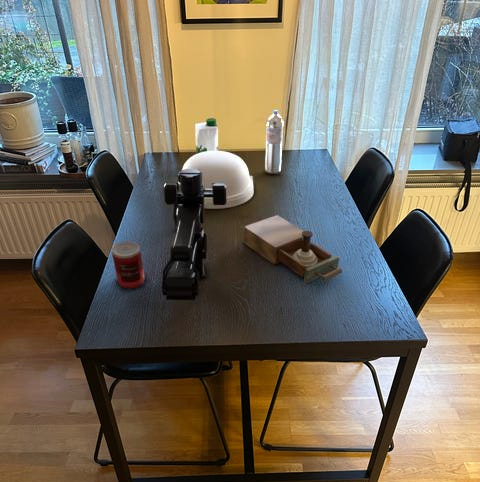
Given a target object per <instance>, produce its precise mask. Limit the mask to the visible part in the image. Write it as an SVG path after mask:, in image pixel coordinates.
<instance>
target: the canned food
mask: <svg viewBox="0 0 480 482" xmlns="http://www.w3.org/2000/svg"><path fill="white" fill-rule="evenodd" d="M111 254H112V260H113V264H114V270H115V274H116V280H117V282H118V284H119V286H121V287H122V288H124V289H136V288H139V287H141V286H142V285H143V284H144V283H145V278H146V276H145V271H144V264H143V257H142V251H141V247H140V245H139V244H138V243H137V242H134V241H121V242H119V243H118V242H117V243H115V244H114V245H113V246H112V248H111Z"/></svg>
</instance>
